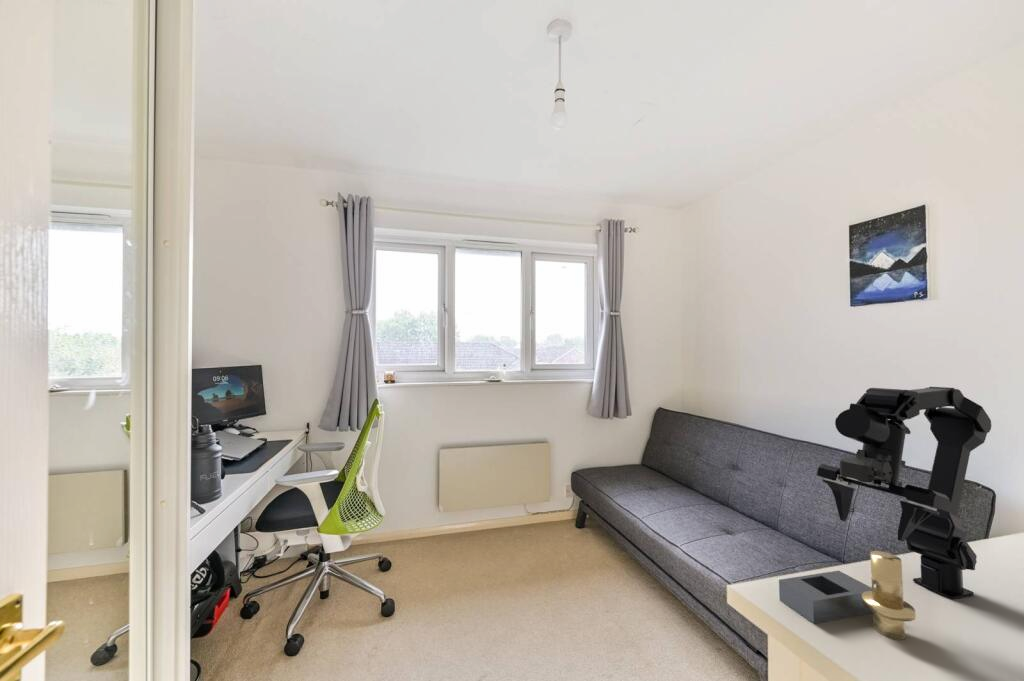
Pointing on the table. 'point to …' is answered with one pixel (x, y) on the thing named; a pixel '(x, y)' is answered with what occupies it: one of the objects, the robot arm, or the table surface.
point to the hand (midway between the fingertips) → (869, 530)
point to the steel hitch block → (824, 596)
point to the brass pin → (887, 596)
